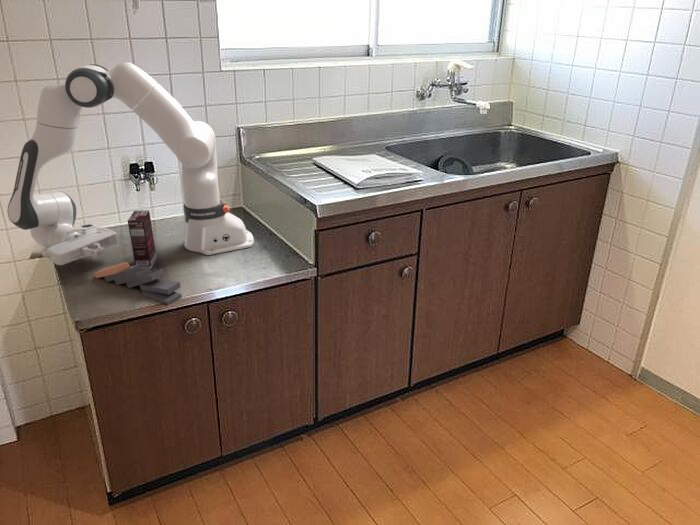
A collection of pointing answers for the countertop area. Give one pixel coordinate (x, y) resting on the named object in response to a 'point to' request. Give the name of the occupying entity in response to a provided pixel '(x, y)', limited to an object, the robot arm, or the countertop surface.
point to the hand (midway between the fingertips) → (100, 252)
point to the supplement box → (142, 239)
